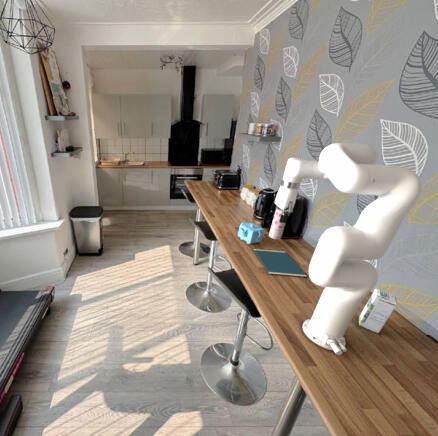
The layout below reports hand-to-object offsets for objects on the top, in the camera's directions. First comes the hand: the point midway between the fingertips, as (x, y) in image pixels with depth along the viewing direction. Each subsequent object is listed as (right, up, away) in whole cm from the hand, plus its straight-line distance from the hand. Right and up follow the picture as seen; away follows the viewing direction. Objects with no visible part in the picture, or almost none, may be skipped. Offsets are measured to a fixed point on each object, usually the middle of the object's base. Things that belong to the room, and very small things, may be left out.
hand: (279, 219), depth 117 cm
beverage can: (0, -9, +4) cm, 10 cm away
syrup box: (+18, -40, -28) cm, 52 cm away
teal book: (+4, -23, +9) cm, 25 cm away
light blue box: (-3, -14, +31) cm, 34 cm away
